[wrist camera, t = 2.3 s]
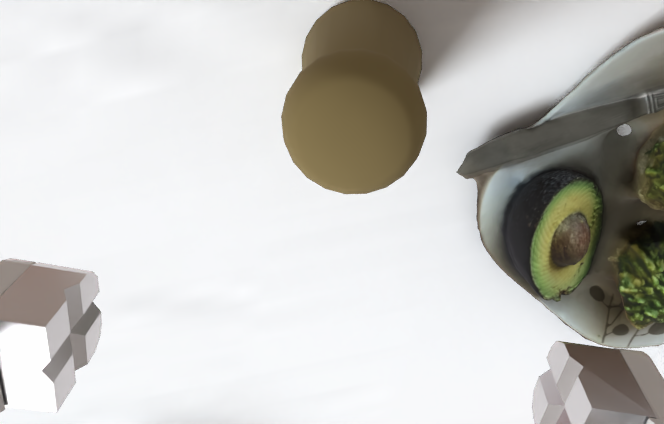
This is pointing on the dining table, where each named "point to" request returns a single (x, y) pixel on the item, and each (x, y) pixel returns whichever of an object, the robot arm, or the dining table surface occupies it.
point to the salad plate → (586, 201)
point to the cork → (357, 99)
